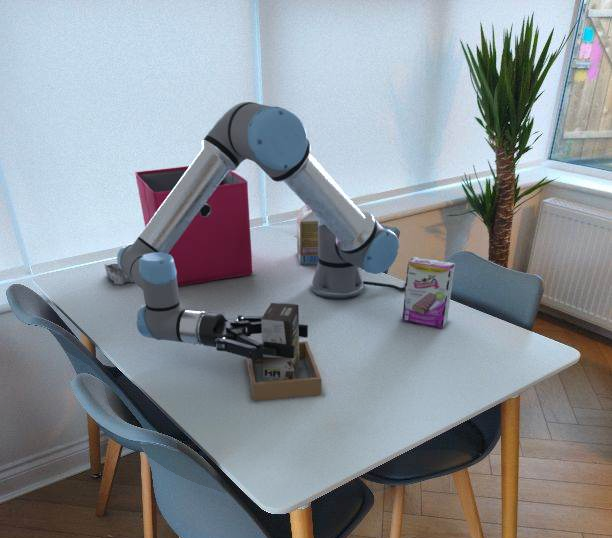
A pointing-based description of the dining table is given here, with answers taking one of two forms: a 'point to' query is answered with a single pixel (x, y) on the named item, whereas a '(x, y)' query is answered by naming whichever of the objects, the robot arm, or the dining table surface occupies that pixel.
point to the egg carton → (116, 274)
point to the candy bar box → (428, 292)
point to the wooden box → (287, 386)
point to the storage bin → (205, 227)
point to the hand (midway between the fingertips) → (300, 341)
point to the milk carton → (307, 236)
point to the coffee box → (281, 340)
